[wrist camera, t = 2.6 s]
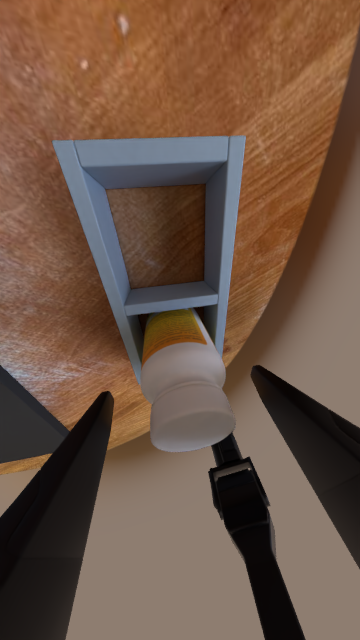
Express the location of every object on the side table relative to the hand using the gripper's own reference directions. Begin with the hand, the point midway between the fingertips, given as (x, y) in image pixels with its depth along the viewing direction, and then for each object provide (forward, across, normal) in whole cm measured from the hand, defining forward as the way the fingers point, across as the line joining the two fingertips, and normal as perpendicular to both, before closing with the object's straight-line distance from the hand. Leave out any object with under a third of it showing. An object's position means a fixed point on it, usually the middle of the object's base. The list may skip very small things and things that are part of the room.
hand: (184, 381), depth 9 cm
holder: (+7, 0, -4) cm, 8 cm away
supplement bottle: (+7, 0, 0) cm, 7 cm away
